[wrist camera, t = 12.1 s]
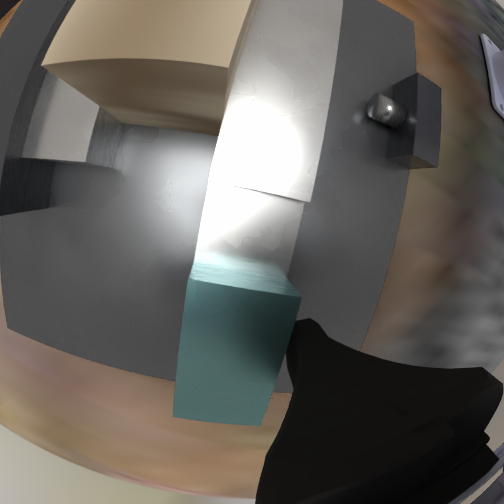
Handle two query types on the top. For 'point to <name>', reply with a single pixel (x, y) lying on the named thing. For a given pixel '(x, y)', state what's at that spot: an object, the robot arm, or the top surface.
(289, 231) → the sliding jaw
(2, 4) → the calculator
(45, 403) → the top surface
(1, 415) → the top surface
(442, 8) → the top surface
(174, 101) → the birch block
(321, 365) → the robot arm
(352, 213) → the vise base
